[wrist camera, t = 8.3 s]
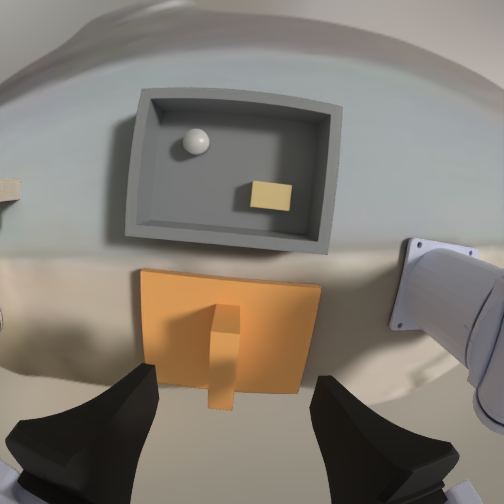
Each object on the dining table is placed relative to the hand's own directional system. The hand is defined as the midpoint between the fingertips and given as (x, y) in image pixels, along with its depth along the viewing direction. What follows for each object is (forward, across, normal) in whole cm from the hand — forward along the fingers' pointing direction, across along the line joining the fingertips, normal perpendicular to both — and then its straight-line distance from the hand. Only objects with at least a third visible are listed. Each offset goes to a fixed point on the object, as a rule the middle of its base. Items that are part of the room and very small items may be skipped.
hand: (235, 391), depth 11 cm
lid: (+10, +1, +2) cm, 10 cm away
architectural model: (+10, +23, -8) cm, 27 cm away
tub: (+9, +1, -10) cm, 13 cm away
